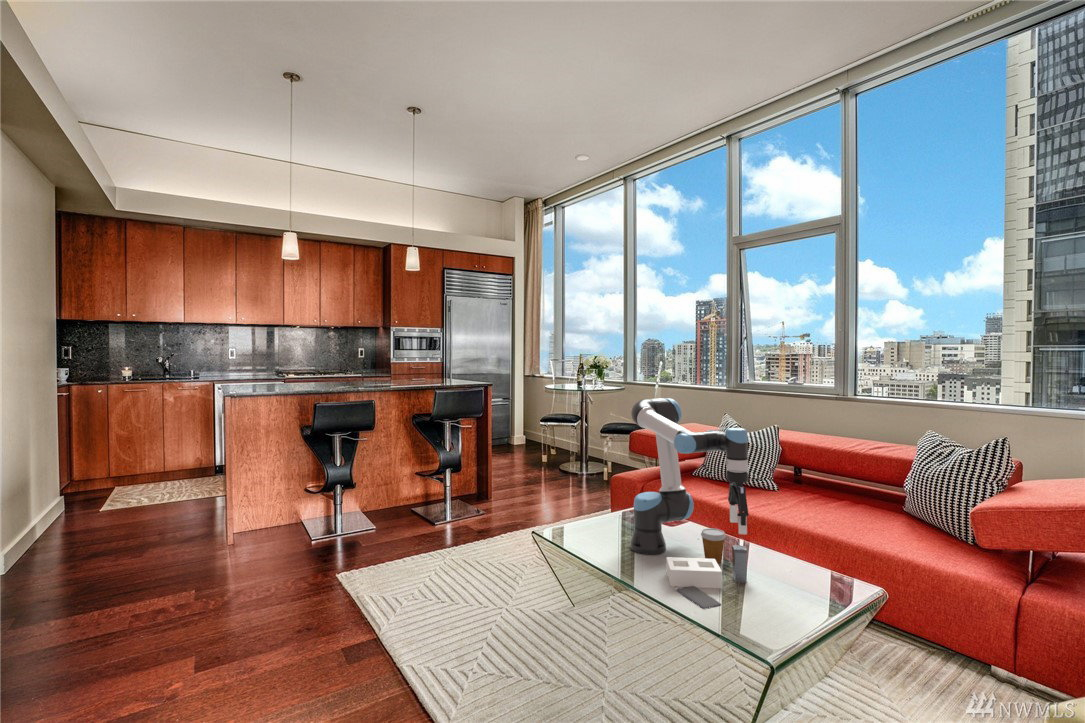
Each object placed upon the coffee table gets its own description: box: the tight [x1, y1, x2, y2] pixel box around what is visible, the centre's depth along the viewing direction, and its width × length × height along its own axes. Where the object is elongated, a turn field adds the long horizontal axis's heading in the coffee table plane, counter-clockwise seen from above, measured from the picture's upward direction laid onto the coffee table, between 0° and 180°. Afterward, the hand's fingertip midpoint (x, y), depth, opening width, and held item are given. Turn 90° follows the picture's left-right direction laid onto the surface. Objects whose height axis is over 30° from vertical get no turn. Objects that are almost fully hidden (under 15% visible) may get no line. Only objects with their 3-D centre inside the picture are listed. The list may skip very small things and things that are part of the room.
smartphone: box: [676, 586, 722, 609], centre depth 178 cm, size 8×1×15 cm
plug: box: [731, 544, 748, 583], centre depth 192 cm, size 4×4×12 cm
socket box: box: [665, 556, 723, 589], centre depth 192 cm, size 12×18×6 cm
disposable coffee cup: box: [700, 527, 726, 565], centre depth 210 cm, size 10×10×12 cm
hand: (738, 528), depth 192 cm, fingers open, 13 cm apart
